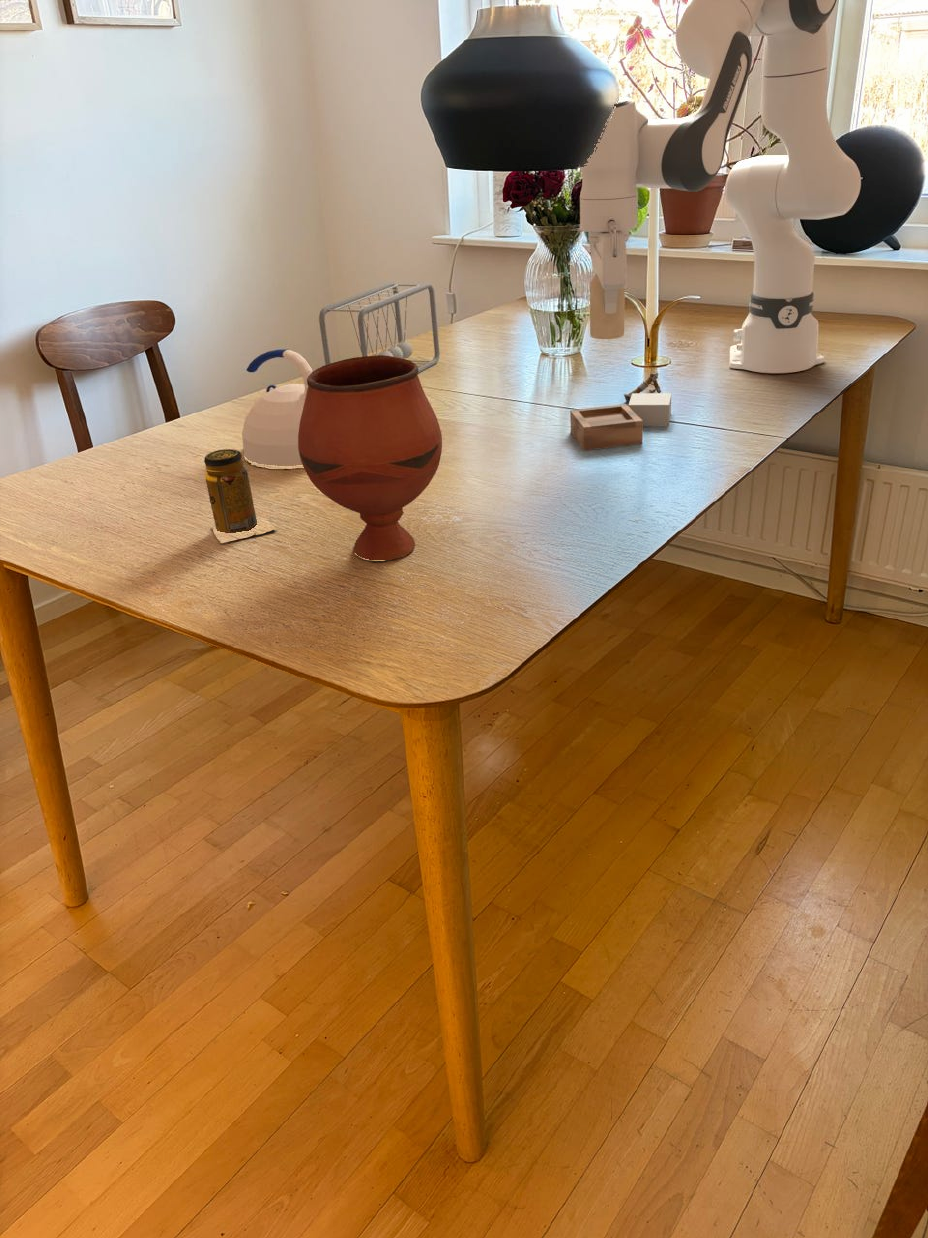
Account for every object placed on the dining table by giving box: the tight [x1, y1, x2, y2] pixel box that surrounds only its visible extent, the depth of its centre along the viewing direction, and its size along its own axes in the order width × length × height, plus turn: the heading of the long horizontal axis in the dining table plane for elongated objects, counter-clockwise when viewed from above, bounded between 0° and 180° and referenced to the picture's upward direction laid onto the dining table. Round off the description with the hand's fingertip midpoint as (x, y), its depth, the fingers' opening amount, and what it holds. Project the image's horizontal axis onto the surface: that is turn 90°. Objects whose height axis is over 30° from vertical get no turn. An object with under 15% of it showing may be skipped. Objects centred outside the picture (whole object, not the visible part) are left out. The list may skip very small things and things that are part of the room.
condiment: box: [203, 448, 257, 533], centre depth 143 cm, size 7×8×12 cm
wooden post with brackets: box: [623, 372, 662, 403], centre depth 187 cm, size 2×8×4 cm, turn 121°
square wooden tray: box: [569, 403, 644, 451], centre depth 169 cm, size 10×10×4 cm
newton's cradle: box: [318, 281, 441, 374], centre depth 210 cm, size 30×10×18 cm, turn 152°
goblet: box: [298, 354, 443, 561], centre depth 130 cm, size 19×19×25 cm
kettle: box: [241, 348, 314, 466], centre depth 172 cm, size 20×21×18 cm
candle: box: [589, 273, 626, 340], centre depth 158 cm, size 6×6×10 cm
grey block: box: [627, 392, 672, 427], centre depth 176 cm, size 7×7×4 cm
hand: (608, 308), depth 159 cm, fingers closed on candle, 5 cm apart
